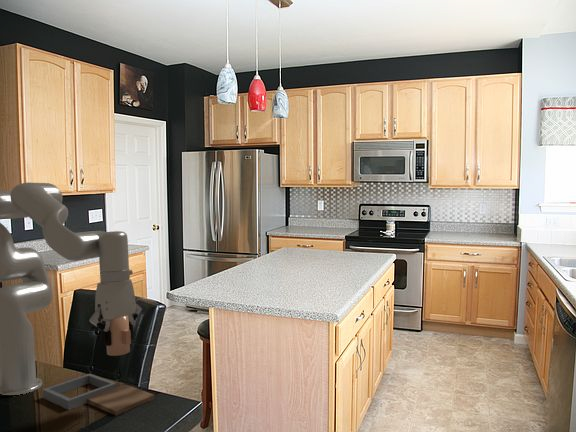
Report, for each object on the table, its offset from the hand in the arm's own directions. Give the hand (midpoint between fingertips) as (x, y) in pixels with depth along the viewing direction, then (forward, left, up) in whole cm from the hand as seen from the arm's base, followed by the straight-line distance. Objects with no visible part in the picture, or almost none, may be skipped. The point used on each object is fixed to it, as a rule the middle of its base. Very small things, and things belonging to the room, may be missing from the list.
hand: (118, 341), depth 129 cm
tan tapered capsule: (0, 0, -3) cm, 3 cm away
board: (0, 0, -17) cm, 17 cm away
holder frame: (-14, -4, -17) cm, 22 cm away
